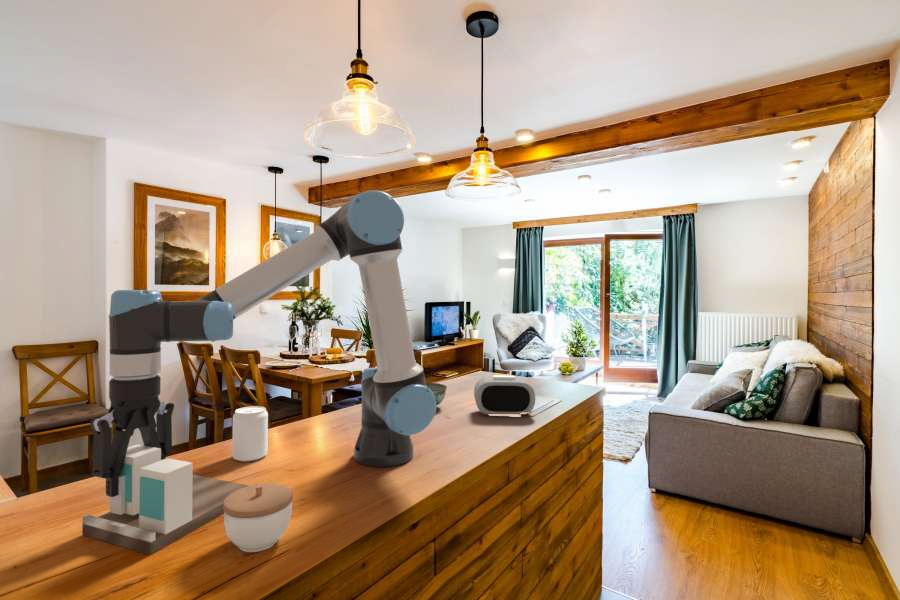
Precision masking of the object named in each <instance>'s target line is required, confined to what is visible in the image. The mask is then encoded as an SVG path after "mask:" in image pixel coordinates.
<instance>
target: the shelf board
mask: <svg viewBox="0 0 900 600" xmlns="http://www.w3.org/2000/svg"><path fill="white" fill-rule="evenodd" d="M247 486H250V485H249V484H243V483H238V482H233V481H229V480H228V481H227V480H222V479H218V478H212V477H207V476H202V475H197V474H193V487H192V520H191V521H190V522H188V523H186V524H184V525H182V526H180V527H178V528H177V529H175V530H173V531H171V532H169V533H167V534H162V533H158V532H154V531H150V530H146V529H143V528H139V513H138V514H136V515H129V514H125V513H124V514H122V515H119V514H115V513H111V512H110V511H109V512H106V513H104V514H102V515H100V516H94V515H91V514H86V515H83V516H82V536H83V537H87V538H90V539H94V540H98V541H101V542H104V543H108V544H111V545H113V546H114V545H115V546H119V547H122V548H124V549H125V548H126V549H129V550H132V551H135V552H140V553H142V554H145V555H146V554H147V555H148V556H152V555H153V554H155V553H157V552H159V551H160V550H162V549H164V548H165V547H167V546H169V545H171V544H172V543H174V542H176V541H178V540H179V539H182V538H183V537H184V536H187V535H189V534H190V533H192V532H194V531H195V530H197V529H200V528H201V527H202V526H205V525H206V524H208V523H209V522H211V521H213V520H215V519H217V518H218V517H220V516H222V515H224V510H223V502H224V500H225V498H226V497H227V496H228V495H229V494H231V493H232V492H234V491H236V490H238V489H241V488H244V487H247Z"/></svg>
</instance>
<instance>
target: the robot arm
mask: <svg viewBox="0 0 900 600" xmlns="http://www.w3.org/2000/svg"><path fill="white" fill-rule="evenodd" d="M404 225H405V216H404V212H403V209H402V207H401V205H400V203H399V202H398V200H397V199H395V198H394V197H393V196H392V195H390V194H389V193H386V192H384V191H382V190H378V189H377V190H375V189H374V190H371V189H369V190H367V191H366V190H365V191H364V192H359V193H357V194H356V195H354V196H353V197H352V198H351V199H350V200H349V201H348V202H346V203H344V204H343V205H342V206H341V207H340V208H339V209H338V210H337V211H335V212H334V213H333V214H332V215H330V217H328V218H327V219H326V220H324V221H323V222H321V223H319V224H317V225H316V226H315V228H314V231H313V232H312V233H311V234H309V235H307V236H304V237H303V238H302V239H300V240H299V241H297V242H295V243H292V244H291V245H289V246H288V247H287V248H284V249H283V250H281V251H279V252H277V253H276V254H274V255H273V256H270V257H269V258H267V259H265V260H264V261H261V262H260V263H258V264H257V265H254V266H253V267H252V268H250V269H248V270H246V271H245V272H243V273H241V274H240V275H238V276H236V277H235V278H232V279H231V280H229V281H228V282H226V283H224V284H222V285H220V286H219V287H217V288H215V289H214V290H212V291H210V292H208V293H206V294H205V295H203V296H201V297H199V298H198V299H196V300H193V301H192V300H191V301H190V300H189V301H188V300H187V301H184V300H183V301H178V300H177V301H170V300H163V297H162V293H161V292H160V291H159V290H156V289H155V290H154V289H153V290H149V289H147V290H145V289H141V290H139V289H117V290H115V291H113V293H112V294H111V296H110V307H109V308H110V309H109V315H108V321H109V324H108V326H109V376H111V377H112V378H111V379H110V380H109V383H108V398H109V401H110V407H109V408H108V410H107V411H108V412H107V413H106V414H105V415H102V416H101V417H100V418H95V417H94V418H92V419H91V420H90V427H91V429H92V431H93V449H92V453H93V454H92V476H93V477H97V478H101V479H105V495H106V497H109V496H110V510H109V512H111V513H115V514H119V515H122V514H124V513H125V476H124V475H121V471H122V467H123V464H124V460H125V456H126V452H127V448H128V447H129V443H130V439H131V437H132V436H134V433H135V430H137V429H138V430H139V432H140V435H141V439H142V442H143V445H144V446H149V447H155V448H161V460H164V459H166V458H167V457H168V456H170V455H172V452H173V435H172V434H173V431H172V429H173V428H172V423H173V422H172V416H173V411H174V407H175V404H174V403H172V402H166V401H162V402H161V400H160V398H159V396H160V394H161V378H162V377H161V376H160V375H159V374H160V372H162V354H161V353H162V351H161V350H162V348H161V344H162V342H163V343H165V342H166V343H171V342H208V341H209V342H213V343H214V342H216V341H217V342H218V341H227V340H230V339H231V338H233V337H234V336H233V335H234V320H235V319H237V318H238V317H240V316H242V315H243V314H245V313H247V312H248V311H249V310H252V309H253V308H256V306H259V305H260V304H261V303H263V302H265V301H267V300H268V299H270V298H271V297H273V296H274V295H276V294H278V293H280V292H281V291H284V289H287V288H288V287H289V286H291V285H293V284H294V283H296V282H298V281H299V280H301V279H303V278H304V277H306V276H308V275H310V274H311V273H312V272H314V271H316V270H318V269H320V268H321V267H322V266H324V265H325V264H326V265H327V263H329V262H331V261H338V262H339V261H340V260H342V259H343V258H346V257H347V256H349V259H350V260H351V261H352V262H354V263H355V264H357V266H358V269H359V275H360V280H361V286H362V290H363V296H364V301H365V307H366V312H367V317H368V322H369V328H370V333H371V339H372V343H373V344H372V345H373V349H374V350H373V351H374V354H375V355H374V356H375V360H376V366H377V367H368V368H365V369H364V370H363V371H362V375H361V376H362V377H361V378H362V379H361V425H360V430H359V432H358V435H357V439H356V442H355V445H354V449H353V459H354V461H355V462H357V464H358V463H359V464H360V465H364V466H369V467H379V468H380V467H382V468H385V467H386V468H387V467H394V466H399V465H403V464H405V463H407V462H409V461H410V460H412V459H413V457H414V444H413V441H412V438H411V436H413V435H417V434H419V433H421V432H423V431H424V430H425V429H427V428H428V427H429V425H430V424H431V423H432V421H433V420H434V418H435V417H436V413H437V412H436V411H437V407H438V405H437V404H436V398H435V396H434V394H433V393H432V391H431V390H430V389H429V388H428V387H427V386H426V383H427V382H426V377H425V372H424V367H423V366H421V365H420V364H419V363H417V362H416V357H415V352H414V347H413V343H412V335H411V330H410V325H409V319H408V313H407V308H406V307H407V306H406V302H405V295H404V290H403V286H402V280H401V275H400V268H399V263H398V258H399V256H400V254H401V253H402V252H403V247H402V240H401V234H402V231H403V229H404ZM155 416H156V419H155ZM112 422H113V423H114V427H113V424H112ZM112 427H113V430H111V428H112ZM112 435H113V438H112ZM166 456H167V457H166Z"/></svg>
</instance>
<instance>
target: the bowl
mask: <svg viewBox="0 0 900 600" xmlns="http://www.w3.org/2000/svg"><path fill="white" fill-rule="evenodd" d="M426 386H427V387H428V388H429V389H430V390H431V391H432V393H433V394H434V396H435V398H436V404H437V406H439V405H441V403H442V402H443V401H444V399H445V395H446V392H447V387H448V386H447V385H445V384H442V383H437V382H426Z"/></svg>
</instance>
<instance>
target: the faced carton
mask: <svg viewBox="0 0 900 600" xmlns="http://www.w3.org/2000/svg"><path fill="white" fill-rule="evenodd" d="M193 464H194V463H193V462H191V461H185V460H181V459H175V458H169V457H166V459H164V460H161V461H158V462H155V463H153V464H150V465H147V466H145V467H142V468H140V485H139V528H143V529H146V530H150V531H154V532H158V533H162V534H167V533H169V532H171V531H173V530H175V529H177V528H178V527H180V526H182V525H184V524H186V523H188V522H190V521H191V520H192V487H193V476H194V474H193V472H194V469H193V467H194V465H193Z"/></svg>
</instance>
